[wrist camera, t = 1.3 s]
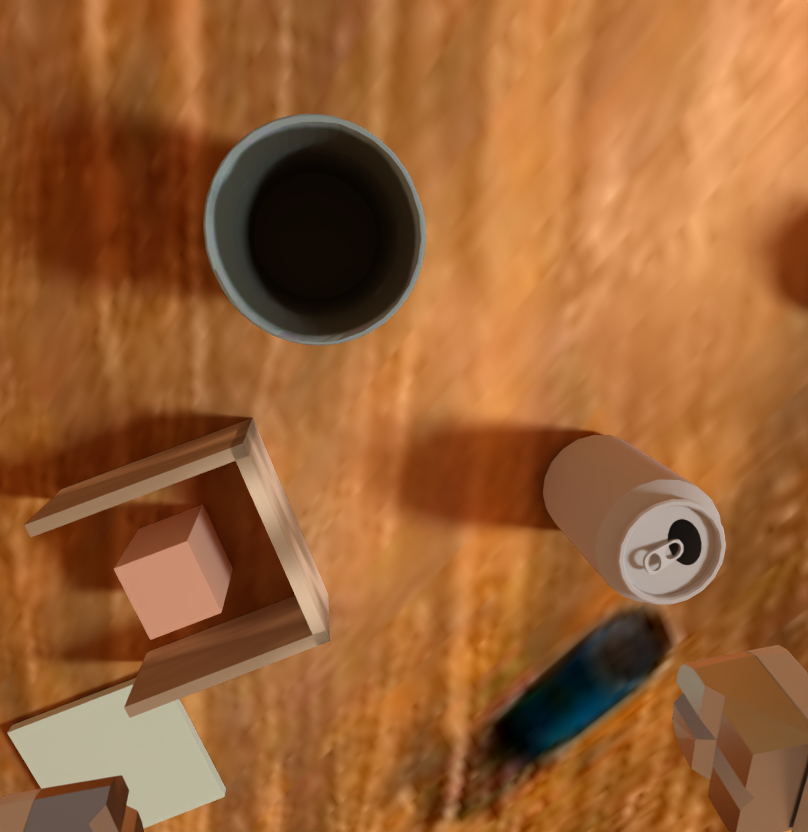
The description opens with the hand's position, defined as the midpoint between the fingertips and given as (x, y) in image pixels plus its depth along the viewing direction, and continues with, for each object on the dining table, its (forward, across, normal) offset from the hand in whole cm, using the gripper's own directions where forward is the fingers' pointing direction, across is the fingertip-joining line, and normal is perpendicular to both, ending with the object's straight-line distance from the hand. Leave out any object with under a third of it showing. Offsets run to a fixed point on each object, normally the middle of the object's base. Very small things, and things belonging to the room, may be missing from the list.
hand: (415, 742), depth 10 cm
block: (+33, -11, -19) cm, 40 cm away
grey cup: (+37, 0, -1) cm, 37 cm away
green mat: (+30, -19, -34) cm, 49 cm away
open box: (+33, -10, -19) cm, 39 cm away
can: (+33, +17, -19) cm, 42 cm away
